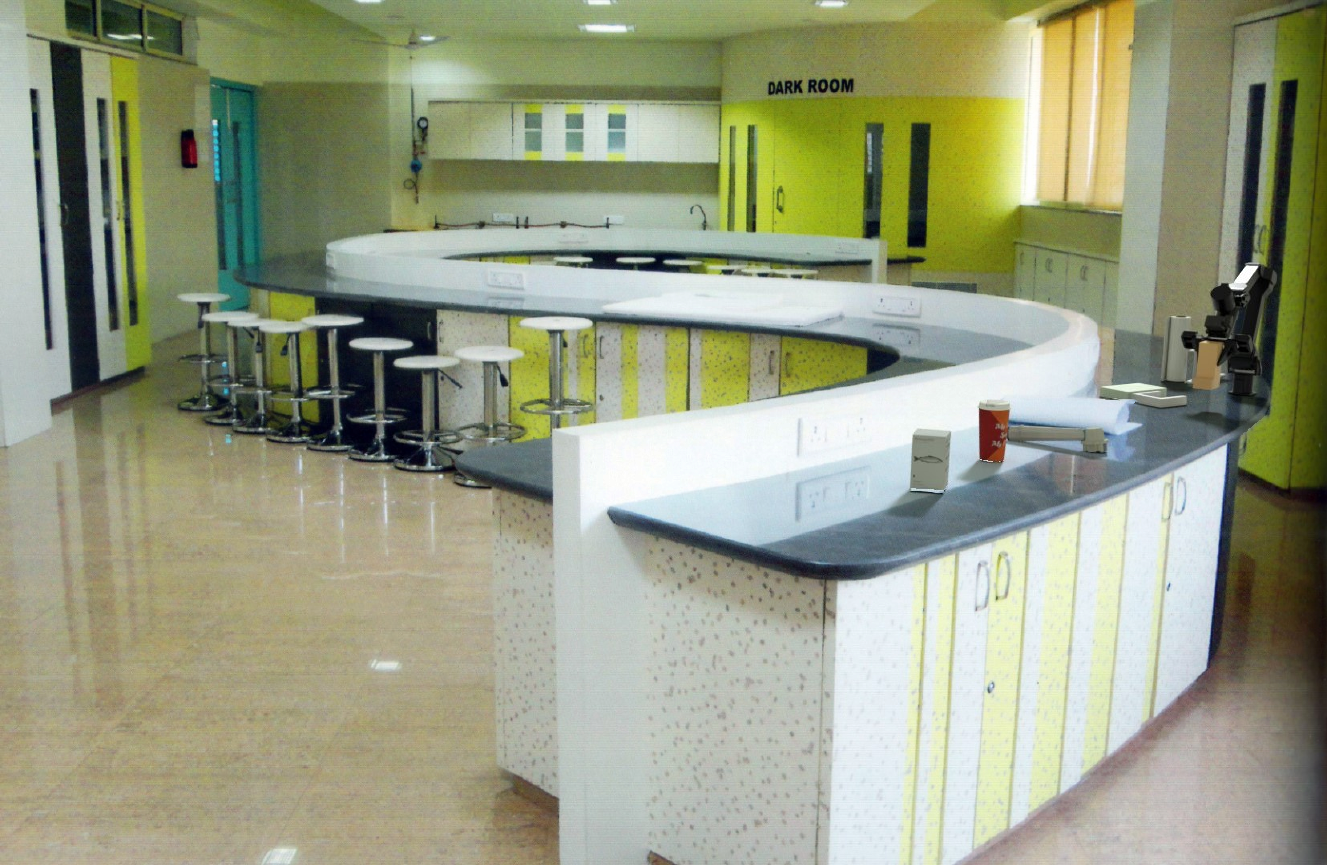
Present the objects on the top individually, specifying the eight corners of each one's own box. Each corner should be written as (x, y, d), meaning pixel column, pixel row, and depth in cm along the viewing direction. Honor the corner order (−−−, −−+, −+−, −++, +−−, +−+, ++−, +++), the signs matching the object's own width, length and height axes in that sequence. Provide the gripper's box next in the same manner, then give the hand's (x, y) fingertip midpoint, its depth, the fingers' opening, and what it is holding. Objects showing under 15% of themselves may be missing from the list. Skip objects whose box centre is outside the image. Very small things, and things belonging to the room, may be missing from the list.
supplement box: (908, 492, 253) (910, 434, 250) (914, 484, 260) (916, 427, 257) (944, 495, 250) (946, 436, 248) (949, 486, 257) (951, 429, 254)
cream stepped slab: (1137, 392, 372) (1138, 382, 371) (1195, 403, 353) (1196, 393, 352) (1099, 396, 365) (1100, 386, 365) (1156, 408, 346) (1157, 397, 345)
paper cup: (1003, 465, 276) (1006, 406, 274) (970, 461, 280) (973, 402, 278) (1012, 458, 283) (1015, 400, 280) (980, 455, 287) (983, 397, 284)
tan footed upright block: (1201, 385, 346) (1205, 340, 344) (1219, 387, 343) (1223, 342, 340) (1192, 388, 341) (1197, 343, 339) (1210, 390, 338) (1215, 345, 335)
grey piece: (1012, 423, 306) (1110, 422, 289) (1014, 449, 307) (1112, 449, 290) (1004, 426, 302) (1102, 425, 286) (1006, 452, 303) (1104, 452, 286)
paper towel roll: (1187, 380, 395) (1192, 316, 390) (1184, 382, 390) (1189, 317, 385) (1164, 378, 398) (1169, 314, 394) (1160, 381, 393) (1165, 316, 389)
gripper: (1185, 302, 347) (1169, 344, 341) (1253, 306, 335) (1237, 349, 329) (1192, 327, 354) (1176, 368, 349) (1259, 332, 342) (1244, 374, 336)
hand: (1207, 364), depth 340 cm, fingers closed on tan footed upright block, 5 cm apart
